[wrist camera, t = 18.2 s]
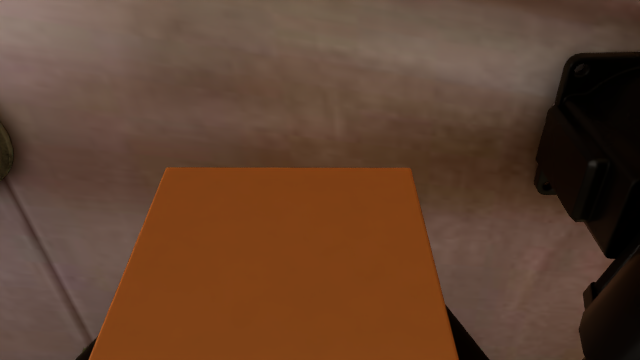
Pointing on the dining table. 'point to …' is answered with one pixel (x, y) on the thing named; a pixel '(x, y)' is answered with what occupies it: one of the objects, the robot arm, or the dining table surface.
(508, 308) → the dining table surface
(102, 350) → the block
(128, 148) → the dining table surface
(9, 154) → the dark grey tall piece
